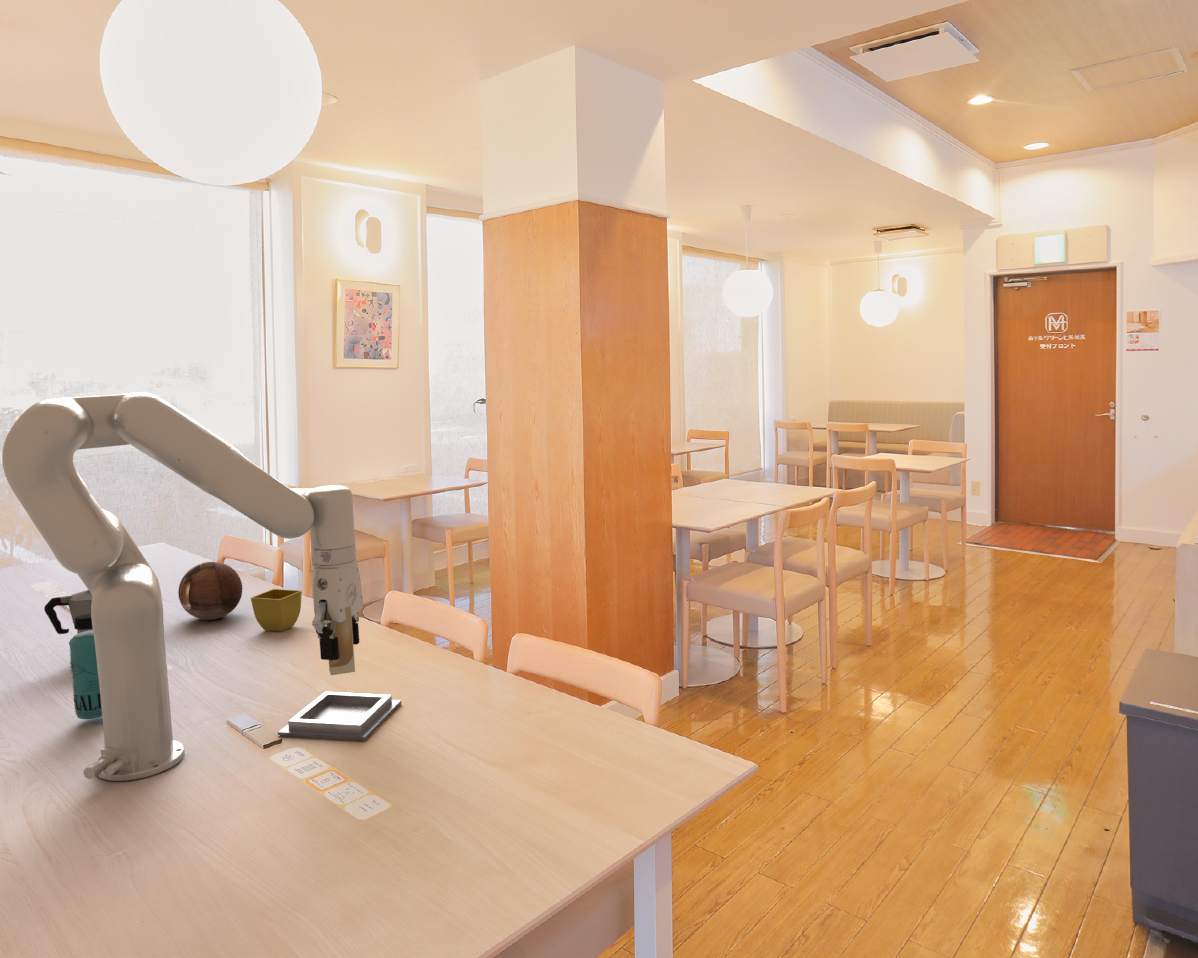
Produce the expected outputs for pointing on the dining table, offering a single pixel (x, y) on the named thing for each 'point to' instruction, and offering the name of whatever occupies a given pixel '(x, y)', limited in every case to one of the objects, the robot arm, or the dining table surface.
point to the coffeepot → (77, 606)
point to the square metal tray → (341, 716)
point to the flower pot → (277, 609)
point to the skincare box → (343, 646)
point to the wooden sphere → (210, 590)
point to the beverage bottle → (85, 670)
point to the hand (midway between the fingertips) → (340, 650)
